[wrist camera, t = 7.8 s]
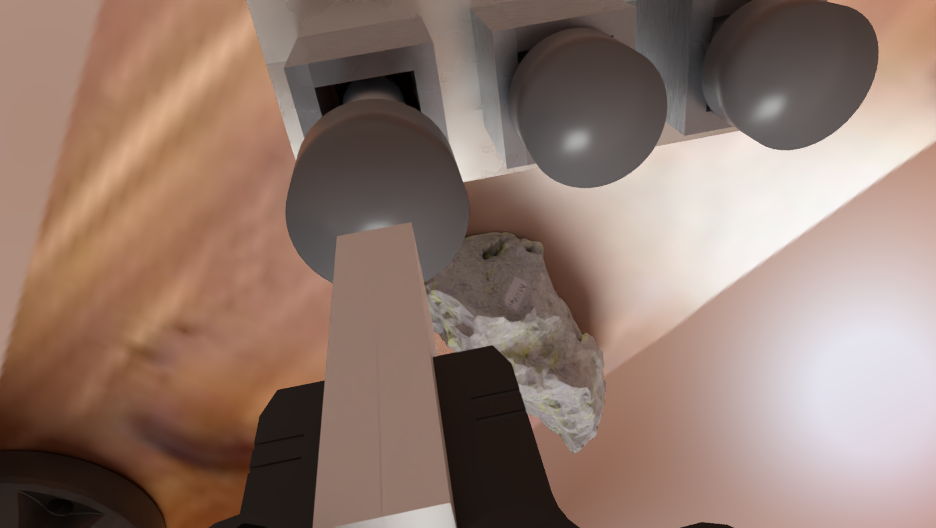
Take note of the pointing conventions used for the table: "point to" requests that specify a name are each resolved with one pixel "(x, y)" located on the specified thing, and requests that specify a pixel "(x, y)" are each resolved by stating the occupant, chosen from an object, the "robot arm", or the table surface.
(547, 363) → the rock
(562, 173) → the knob
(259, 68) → the table surface
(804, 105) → the knob
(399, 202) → the knob
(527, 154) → the square socket rack
